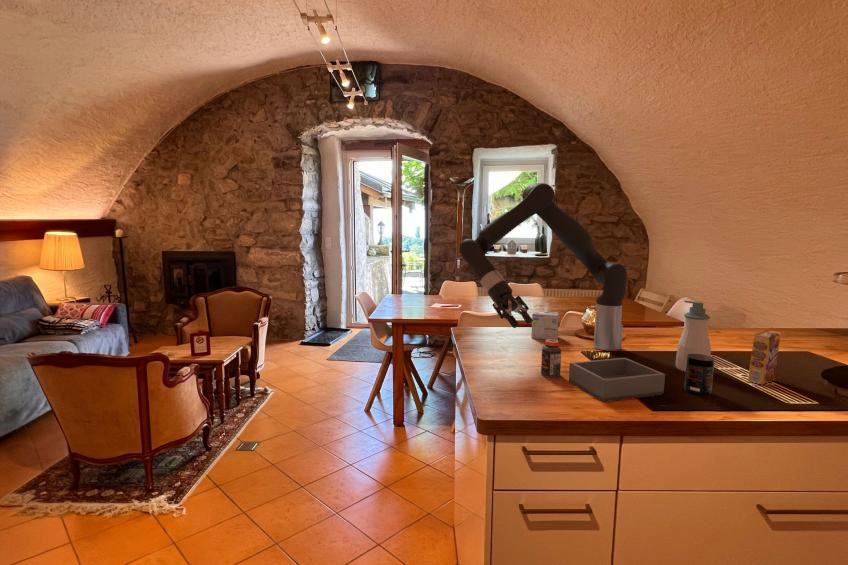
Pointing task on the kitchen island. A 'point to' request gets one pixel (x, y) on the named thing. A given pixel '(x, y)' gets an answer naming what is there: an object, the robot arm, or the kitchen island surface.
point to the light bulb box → (545, 325)
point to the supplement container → (699, 374)
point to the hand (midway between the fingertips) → (523, 324)
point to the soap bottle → (693, 335)
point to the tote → (616, 379)
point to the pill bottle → (551, 359)
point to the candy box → (764, 357)
